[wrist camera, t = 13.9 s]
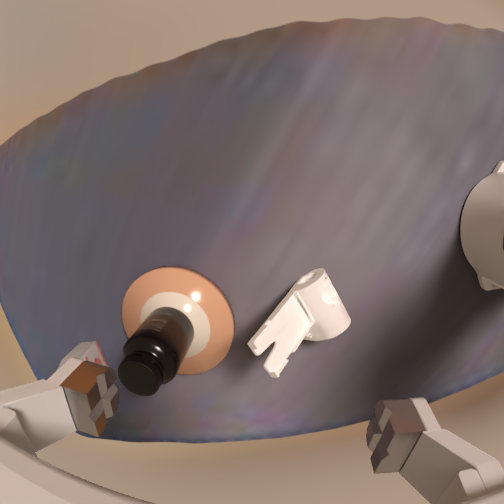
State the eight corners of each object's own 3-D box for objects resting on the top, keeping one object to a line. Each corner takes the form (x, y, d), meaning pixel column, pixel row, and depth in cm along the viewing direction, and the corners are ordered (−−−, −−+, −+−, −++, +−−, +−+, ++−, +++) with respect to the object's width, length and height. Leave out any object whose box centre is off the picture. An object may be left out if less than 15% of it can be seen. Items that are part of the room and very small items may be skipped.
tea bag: (96, 376, 48) (68, 409, 38) (80, 342, 46) (47, 373, 37) (112, 375, 47) (84, 410, 37) (96, 340, 46) (63, 373, 36)
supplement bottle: (142, 334, 42) (102, 381, 31) (158, 295, 41) (116, 339, 29) (184, 358, 42) (156, 412, 31) (204, 321, 41) (176, 373, 29)
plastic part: (347, 312, 41) (367, 359, 29) (281, 345, 43) (281, 398, 31) (322, 264, 39) (338, 300, 28) (253, 301, 41) (244, 346, 30)
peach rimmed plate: (238, 272, 40) (236, 276, 39) (232, 376, 44) (230, 382, 43) (123, 260, 42) (117, 263, 40) (131, 358, 46) (126, 364, 44)
